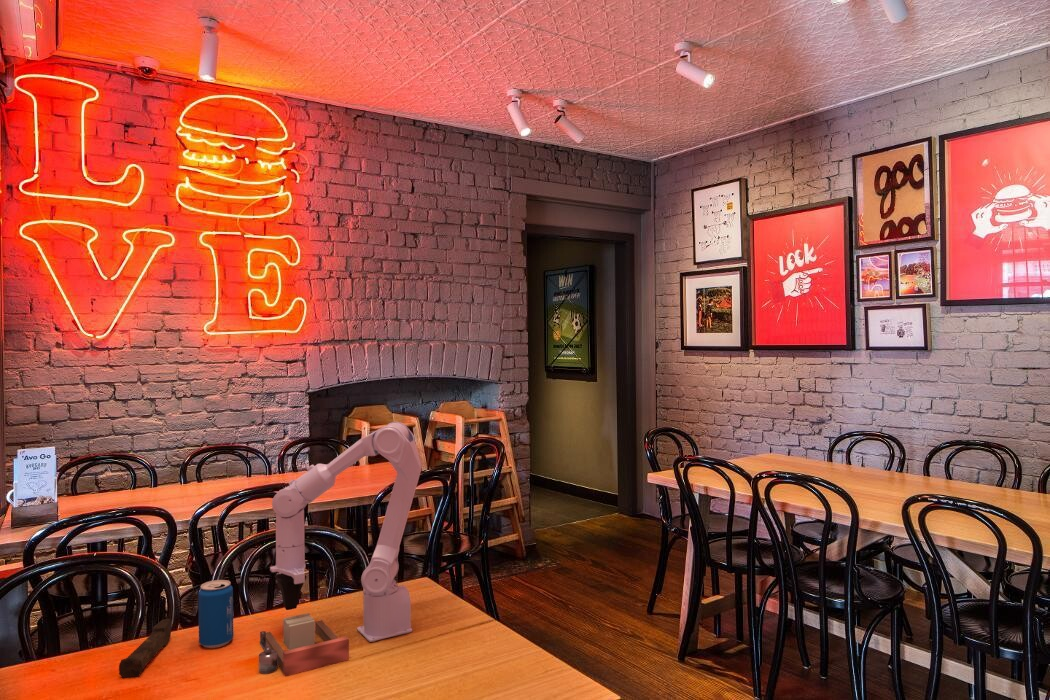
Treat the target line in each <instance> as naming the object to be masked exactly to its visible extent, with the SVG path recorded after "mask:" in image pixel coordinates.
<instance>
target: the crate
mask: <svg viewBox="0 0 1050 700" xmlns="http://www.w3.org/2000/svg"><path fill="white" fill-rule="evenodd" d="M315 622H316V621H315V618H314V617H312V616H311V615H310V613H303V614H297V615H292V616H288V617H284V618H282V625H283V627H282V628H283V629H282V630H283V631H282V633H283V634H282V636H283V644H284V645H285V646H286V648H287V649H288V650H292V649H296V648H300V647H304V646H308V645H313V644H316V631H315Z"/></svg>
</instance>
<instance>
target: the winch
mask: <svg viewBox="0 0 1050 700" xmlns="http://www.w3.org/2000/svg"><path fill="white" fill-rule="evenodd" d="M259 637H260V638H259V646H260V647H261V648H262V650H263V651H261V652H260V653H258V672H259V673H260V674H261V675H262V674H264V675H265V674H272V673H275V672H276V671H277V670H278V664H277V651H275V650H271V648H270V646H269V645H268V643H267V642H266V631H265V630H262V631H260V632H259Z"/></svg>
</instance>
